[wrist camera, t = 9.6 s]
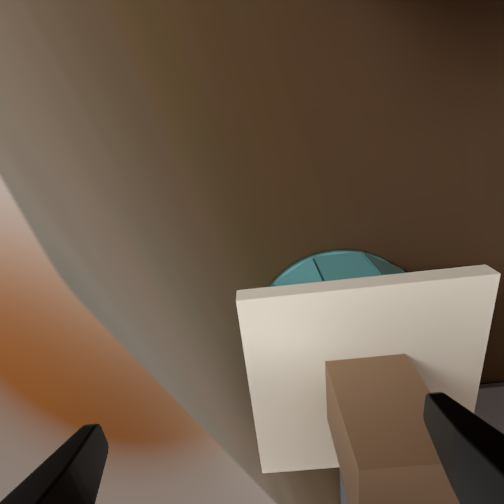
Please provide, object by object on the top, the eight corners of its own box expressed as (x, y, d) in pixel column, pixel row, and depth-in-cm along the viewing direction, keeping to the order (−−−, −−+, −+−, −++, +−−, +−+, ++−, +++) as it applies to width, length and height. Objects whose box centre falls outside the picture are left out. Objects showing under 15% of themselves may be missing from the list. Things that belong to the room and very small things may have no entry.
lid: (485, 264, 15) (637, 355, 9) (455, 441, 20) (545, 580, 14) (236, 290, 16) (228, 393, 10) (261, 457, 20) (266, 599, 14)
